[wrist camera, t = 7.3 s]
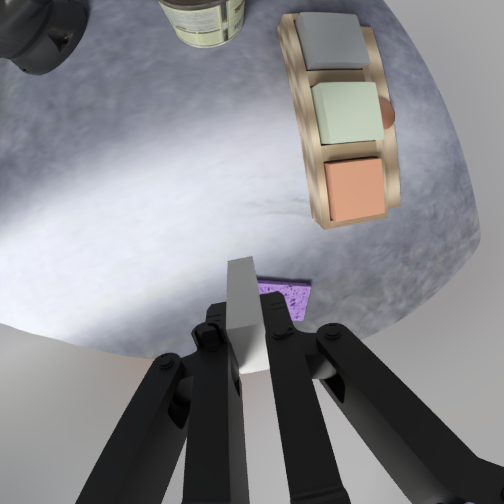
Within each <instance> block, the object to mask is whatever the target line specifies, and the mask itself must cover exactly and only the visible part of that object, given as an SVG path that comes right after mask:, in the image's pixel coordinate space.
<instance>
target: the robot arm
mask: <svg viewBox="0 0 504 504" xmlns="http://www.w3.org/2000/svg"><path fill="white" fill-rule="evenodd" d="M86 23H87V13H86V10H85V9H84V7H83V6H82V5H80V4H79V3H77V2H76V1H74V0H0V58H6V59H10V60H11V61H12V62H13V63H14V64H15V65H17V66H18V67H19V68H20V69H21V70H22V71H23V72H25V73H28V74H32V75H42V74H45V73H48V72H50V71H52V70H53V69H55V68H56V67H58V66H59V65H60V64H61V63H62V62H63V61H64V60H65V59H66V58H67V57H68V56H69V55H70V54H71V53H72V51H73V50H74V49H75V47H76V46H77V44H78V43H79V41H80V39H81V37H82V35H83V33H84V30H85V27H86ZM191 334H192V337H193V339H194V342H195V344H196V346H197V351H196V352H194V353H193V354H191V355H188V356H185V357H183V358H180V356H179V355H177V354H175V353H165V354H162V355H160V356H159V357H157V358H156V359H155V360H154V361H153V363H152V365H151V367H150V368H149V370H148V371H147V373H146V375H145V377H144V378H143V380H142V382H141V383H140V385H139V387H138V389H137V390H136V392H135V394H134V396H133V397H132V399H131V401H130V403H129V405H128V406H127V408H126V410H125V411H124V413H123V415H122V417H121V419H120V420H119V422H118V424H117V426H116V428H115V429H114V431H113V433H112V435H111V437H110V439H109V440H108V442H107V444H106V446H105V447H104V449H103V451H102V453H101V455H100V457H99V459H98V461H97V462H96V464H95V466H94V468H93V470H92V472H91V474H90V476H89V478H88V480H87V481H86V483H85V485H84V487H83V489H82V491H81V493H80V495H79V497H78V499H77V501H76V503H75V504H161V503H162V500H163V497H164V495H165V492H166V490H167V487H168V485H169V482H170V479H171V477H172V474H173V471H174V469H175V466H176V464H177V461H178V458H179V456H180V453H181V451H182V448H183V445H184V443H185V440H186V437H187V444H186V456H185V457H186V458H185V470H184V484H183V499H182V503H181V504H250V502H249V489H248V477H247V463H246V450H245V449H246V448H245V434H244V418H243V402H242V384H241V380H240V377H239V370H240V373H241V374H244V373H250V372H256V371H262V370H267V369H270V373H271V379H272V385H273V392H274V398H275V404H276V411H277V417H278V423H279V429H280V435H281V442H282V448H283V455H284V461H285V467H286V474H287V480H288V486H289V492H290V503H291V504H351V502H350V499H349V496H348V493H347V491H346V489H345V488H344V487H343V484H342V481H341V478H340V474H339V471H338V467H337V463H336V460H335V456H334V453H333V449H332V446H331V442H330V439H329V435H328V432H327V429H326V425H325V422H324V418H323V415H322V412H321V408H320V405H319V401H318V398H317V395H316V392H315V388H314V385H313V381H312V379H319V380H320V382H321V384H322V385H323V386H324V388H325V389H326V390H327V392H328V393H329V395H330V396H331V397H332V399H333V400H334V402H335V403H336V404H337V406H338V407H339V408H340V409H341V411H342V412H343V414H344V415H345V416H346V418H347V419H348V421H349V422H350V423H351V425H352V426H353V427H354V428H355V430H356V431H357V433H358V434H359V435H360V437H361V438H362V439H363V441H364V442H365V443H366V445H367V446H368V447H369V449H370V450H371V451H372V453H373V454H374V455H375V457H376V458H377V459H378V461H379V462H380V463H381V465H382V466H383V467H384V469H385V470H386V471H387V472H388V474H389V475H390V476H391V478H392V479H393V480H394V481H395V483H396V484H397V485H398V487H399V488H400V489H401V490H402V492H403V493H404V494H405V496H406V497H407V498H408V499H409V500H410V501H411V502H412V504H504V467H502V466H499V465H496V464H494V463H491V462H488V461H486V460H483V459H481V458H478V457H477V456H476V455H475V454H474V453H473V452H472V451H471V450H470V449H469V448H468V447H467V446H466V445H465V444H464V443H463V442H462V441H461V440H460V439H459V438H458V437H457V436H456V435H455V434H454V433H453V432H452V431H451V430H450V429H449V428H448V427H447V426H446V425H445V424H444V423H443V422H442V421H441V420H440V419H439V418H438V417H437V416H436V415H435V414H434V413H433V412H432V411H431V410H430V409H429V408H428V407H427V406H426V405H425V404H424V403H423V402H422V401H421V400H420V399H419V398H418V397H417V396H416V395H415V394H414V393H413V392H412V391H411V390H410V389H409V388H408V387H407V386H406V385H405V384H404V383H403V382H402V381H401V380H400V379H399V378H398V377H397V376H396V375H395V374H394V373H393V372H392V371H391V370H390V369H389V368H388V367H387V366H386V365H385V364H384V363H383V362H382V361H381V360H380V359H379V358H378V357H377V356H376V355H375V354H374V353H373V352H372V351H371V350H370V349H369V348H368V347H367V346H365V345H364V344H363V343H362V342H361V341H360V340H359V339H358V338H357V337H356V336H355V335H354V334H353V333H352V332H351V331H350V330H349V329H348V328H347V327H346V326H344V325H342V324H339V323H329V324H325V325H323V326H321V327H320V328H319V329H318V330H317V333H305V332H301V331H299V330H297V329H296V328H295V327H294V325H293V322H292V319H291V316H290V313H289V310H288V307H287V303H286V300H285V297H284V295H283V294H282V293H280V292H279V291H275V292H270V293H265V294H260V291H259V286H258V281H257V276H256V271H255V267H254V262H253V257H252V256H251V257H246V258H241V259H236V260H231V261H228V272H227V302H221V303H216V304H211V306H210V307H209V308H208V310H207V314H206V321H205V322H204V323H201V324H199V325H197V326H196V327H195V328H194V329H193V330H192V333H191Z"/></svg>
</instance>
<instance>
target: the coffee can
mask: <svg viewBox="0 0 504 504" xmlns="http://www.w3.org/2000/svg"><path fill="white" fill-rule="evenodd" d="M158 2H159V3H160V5H161V7H162V9H163V10H164V12H165V14H166V15H167V17H168V19H169V21H170V22H171V24H172V26H173V27H174V29H175V31H176V34H177V36H178V37H179V38H180V39H181V40H182V41H183V42H184V43H186V44H188V45H190V46H193V47H198V48H212V47H217V46H220V45H223V44H225V43H227V42H229V41H230V40H232V39H233V38H235V36H236V35H237V34H238V33H239V32H240V30H241V28H242V26H243V21H244V18H243V15H244V3H245V0H158Z"/></svg>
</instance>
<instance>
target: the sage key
mask: <svg viewBox="0 0 504 504" xmlns="http://www.w3.org/2000/svg"><path fill="white" fill-rule="evenodd" d="M310 90H311V95H312V100H313V105H314V110H315V115H316V121H317V126H318V132H319V138H320V144H335V143H345V142H356V141H368V140H384V139H385V137H384V129H383V123H382V116H381V110H380V104H379V99H378V94H377V89H376V84H375V82H328V83H319V84H317V85H315V86H314V87H312V88H311V89H310Z"/></svg>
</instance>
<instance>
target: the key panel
mask: <svg viewBox="0 0 504 504" xmlns="http://www.w3.org/2000/svg"><path fill="white" fill-rule="evenodd" d="M298 16H299V14H283V17H282V19H281V21H280V24H279V26H278V28H277V33H278V37H279V41H280V45H281V49H282V53H283V57H284V61H285V65H286V70H287V74H288V79H289V83H290V88H291V93H292V97H293V102H294V107H295V112H296V118H297V123H298V128H299V134H300V139H301V145H302V151H303V157H304V164H305V170H306V177H307V183H308V190H309V198H310V205H311V213H312V218H313V219H314V220H315V221H316V222H317V223H318V224H319V225H320V226H321V227H322V228H323V229H324V230H326V229H331V228H336V227H341V226H346V225H352V224H357V223H362V222H367V221H373V220H378V219H383V218H388V212H387V208H393V207H398V206H400V182H399V167H398V156H397V146H396V137H395V130H394V120H395V112H394V109H393V107H392V105H391V104H390V99H389V93H388V88H387V83H386V79H385V74H384V70H383V66H382V62H381V58H380V54H379V51H378V47H377V43H376V40H375V37H374V33H373V30H372V28H369V27H361V30H362V34H363V37H364V40H365V44H366V47H367V51H368V55H369V58H370V62H371V64H369V65H367V66H365V67H362V68H360V69H358V70H321V71H306V68H305V63H304V59H303V55H302V51H301V47H300V43H299V40H298V36H297V32H296V29H295V25H294V23H295V21H296V20H297V18H298ZM328 82H375V84H376V89H377V94H378V99H379V104H380V110H381V116H382V123H383V129H384V137H385V139H384V140H368V141H356V142H345V143H335V144H320V138H319V132H318V126H317V121H316V115H315V110H314V105H313V100H312V95H311V90H310V89H311V88H312V87H314V86H315V85H317V84H319V83H328ZM358 157H374V158H379V159H381V161H382V171H383V184H384V201H385V213H383V214H377V215H372V216H366V217H361V218H355V219H350V220H345V221H339V222H335V221H334V220H333V219H332V218H330V213H329V204H328V195H327V186H326V179H325V171H324V164H323V162H324V161H332V160H340V159H349V158H358Z"/></svg>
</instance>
